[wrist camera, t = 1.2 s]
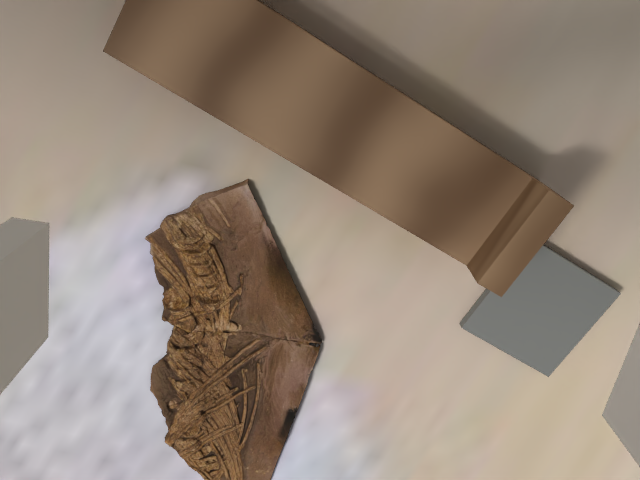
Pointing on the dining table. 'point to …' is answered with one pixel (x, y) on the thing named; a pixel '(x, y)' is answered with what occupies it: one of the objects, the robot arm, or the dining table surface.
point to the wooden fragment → (229, 337)
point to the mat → (541, 311)
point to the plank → (343, 128)
